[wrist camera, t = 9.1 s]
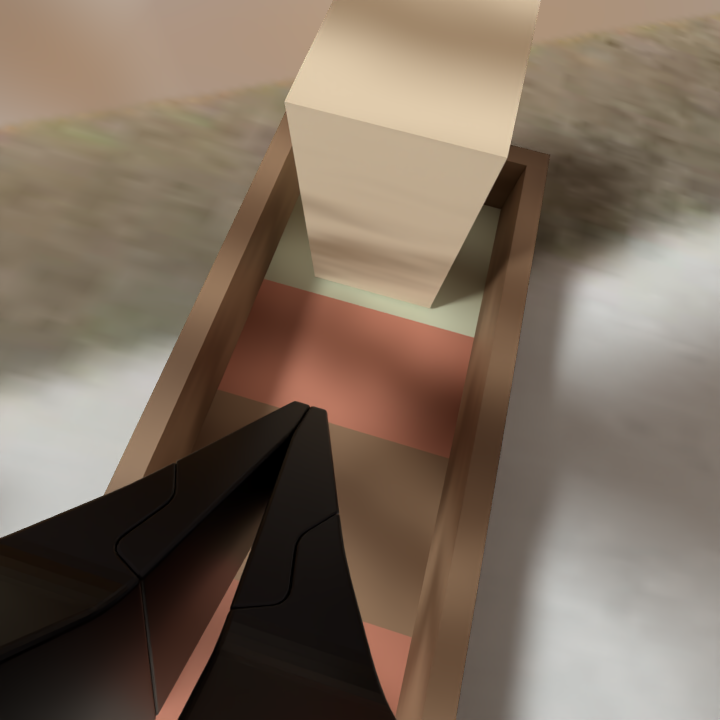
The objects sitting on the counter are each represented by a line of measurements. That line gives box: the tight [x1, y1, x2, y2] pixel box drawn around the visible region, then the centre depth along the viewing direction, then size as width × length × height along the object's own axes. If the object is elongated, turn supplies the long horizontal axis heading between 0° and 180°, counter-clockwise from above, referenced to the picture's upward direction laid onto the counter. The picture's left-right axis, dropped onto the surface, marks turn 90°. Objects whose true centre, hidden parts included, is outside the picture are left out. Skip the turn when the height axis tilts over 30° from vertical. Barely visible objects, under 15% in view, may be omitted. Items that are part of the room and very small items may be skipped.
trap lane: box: [104, 112, 550, 720], centre depth 15 cm, size 28×13×4 cm, turn 164°
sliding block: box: [285, 0, 541, 309], centre depth 14 cm, size 7×6×9 cm
